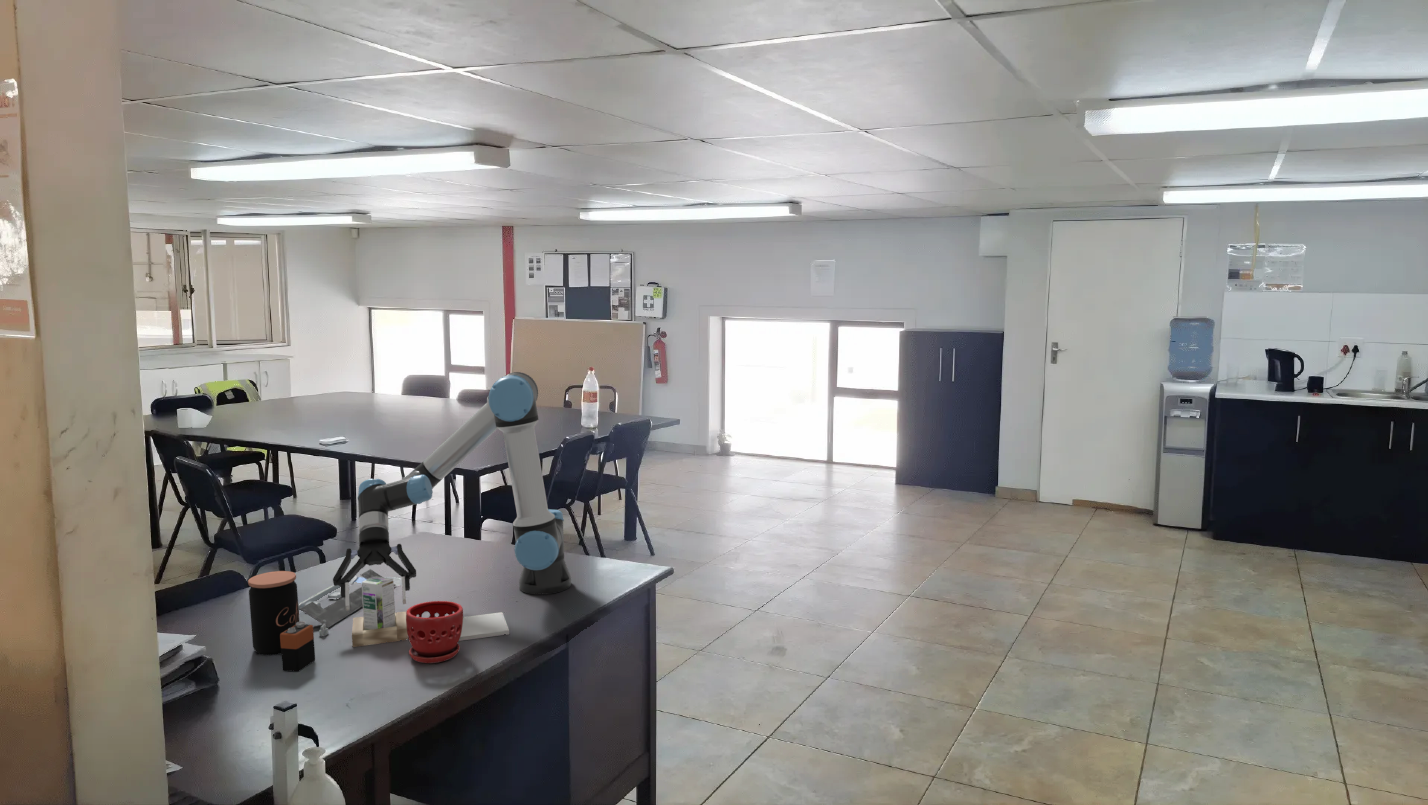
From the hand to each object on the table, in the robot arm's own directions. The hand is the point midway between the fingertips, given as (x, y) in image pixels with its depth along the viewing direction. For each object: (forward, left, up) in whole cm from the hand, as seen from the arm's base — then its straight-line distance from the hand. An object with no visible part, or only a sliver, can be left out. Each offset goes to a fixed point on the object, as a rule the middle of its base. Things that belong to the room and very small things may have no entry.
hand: (376, 605), depth 231 cm
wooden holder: (-1, -1, -8) cm, 8 cm away
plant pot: (-13, +19, -8) cm, 25 cm away
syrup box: (-1, -1, -8) cm, 8 cm away
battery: (+17, +13, -8) cm, 23 cm away
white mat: (-25, +4, -8) cm, 26 cm away
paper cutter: (+10, -28, -9) cm, 31 cm away
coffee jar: (+23, -1, -8) cm, 25 cm away
